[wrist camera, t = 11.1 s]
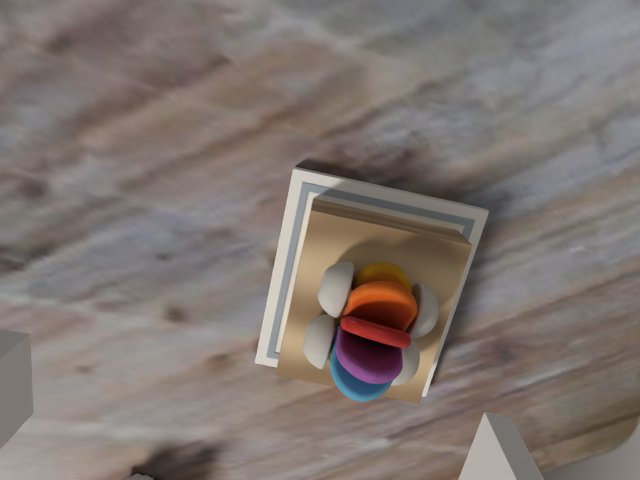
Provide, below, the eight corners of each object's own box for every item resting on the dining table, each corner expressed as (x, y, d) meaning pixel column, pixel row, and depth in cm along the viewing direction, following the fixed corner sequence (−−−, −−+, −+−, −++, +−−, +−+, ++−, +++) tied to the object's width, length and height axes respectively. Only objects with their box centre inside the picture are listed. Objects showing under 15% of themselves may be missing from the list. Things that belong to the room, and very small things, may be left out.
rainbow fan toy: (441, 270, 33) (471, 316, 26) (398, 377, 36) (415, 445, 29) (331, 240, 32) (331, 278, 25) (297, 351, 35) (289, 414, 28)
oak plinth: (312, 198, 35) (311, 210, 32) (457, 229, 36) (472, 245, 32) (280, 348, 40) (275, 375, 36) (410, 374, 40) (419, 403, 36)
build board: (294, 166, 36) (293, 168, 35) (484, 208, 37) (489, 211, 35) (256, 355, 41) (254, 363, 40) (422, 388, 42) (425, 397, 41)
